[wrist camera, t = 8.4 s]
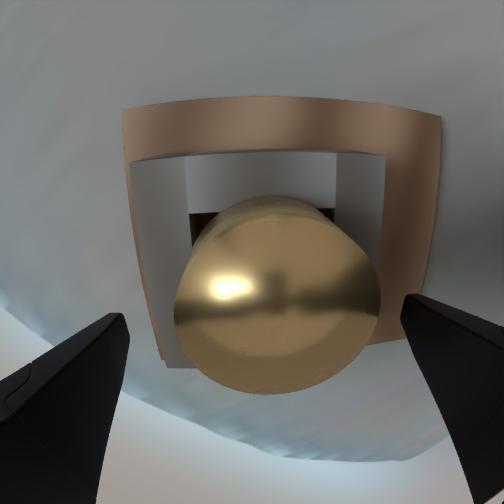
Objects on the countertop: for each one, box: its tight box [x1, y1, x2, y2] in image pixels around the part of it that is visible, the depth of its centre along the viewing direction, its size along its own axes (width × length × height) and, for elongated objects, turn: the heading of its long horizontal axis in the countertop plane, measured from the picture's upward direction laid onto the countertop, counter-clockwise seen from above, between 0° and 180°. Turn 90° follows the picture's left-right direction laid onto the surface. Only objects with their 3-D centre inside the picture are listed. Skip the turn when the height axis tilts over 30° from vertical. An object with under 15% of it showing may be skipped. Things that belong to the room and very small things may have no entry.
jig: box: [121, 96, 441, 368], centre depth 13 cm, size 16×14×4 cm
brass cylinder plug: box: [174, 196, 381, 395], centre depth 11 cm, size 6×6×6 cm
